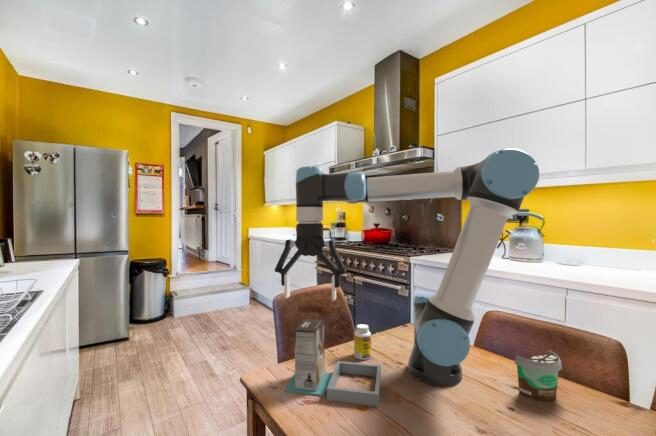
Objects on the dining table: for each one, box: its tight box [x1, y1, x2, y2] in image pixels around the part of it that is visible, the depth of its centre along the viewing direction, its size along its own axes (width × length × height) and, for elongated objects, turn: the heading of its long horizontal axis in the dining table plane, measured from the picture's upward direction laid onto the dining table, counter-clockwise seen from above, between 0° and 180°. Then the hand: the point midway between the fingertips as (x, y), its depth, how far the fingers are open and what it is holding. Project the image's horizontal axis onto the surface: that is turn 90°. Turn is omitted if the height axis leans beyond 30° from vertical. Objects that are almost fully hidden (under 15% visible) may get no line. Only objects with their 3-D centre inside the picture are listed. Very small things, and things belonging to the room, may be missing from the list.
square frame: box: [326, 360, 382, 408], centre depth 83 cm, size 13×15×3 cm
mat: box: [283, 372, 333, 397], centre depth 85 cm, size 11×11×1 cm
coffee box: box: [294, 318, 326, 391], centre depth 85 cm, size 9×6×16 cm
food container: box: [514, 349, 563, 402], centre depth 78 cm, size 12×6×10 cm, turn 105°
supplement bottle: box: [353, 323, 372, 361], centre depth 101 cm, size 6×6×10 cm
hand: (310, 298), depth 85 cm, fingers open, 13 cm apart
